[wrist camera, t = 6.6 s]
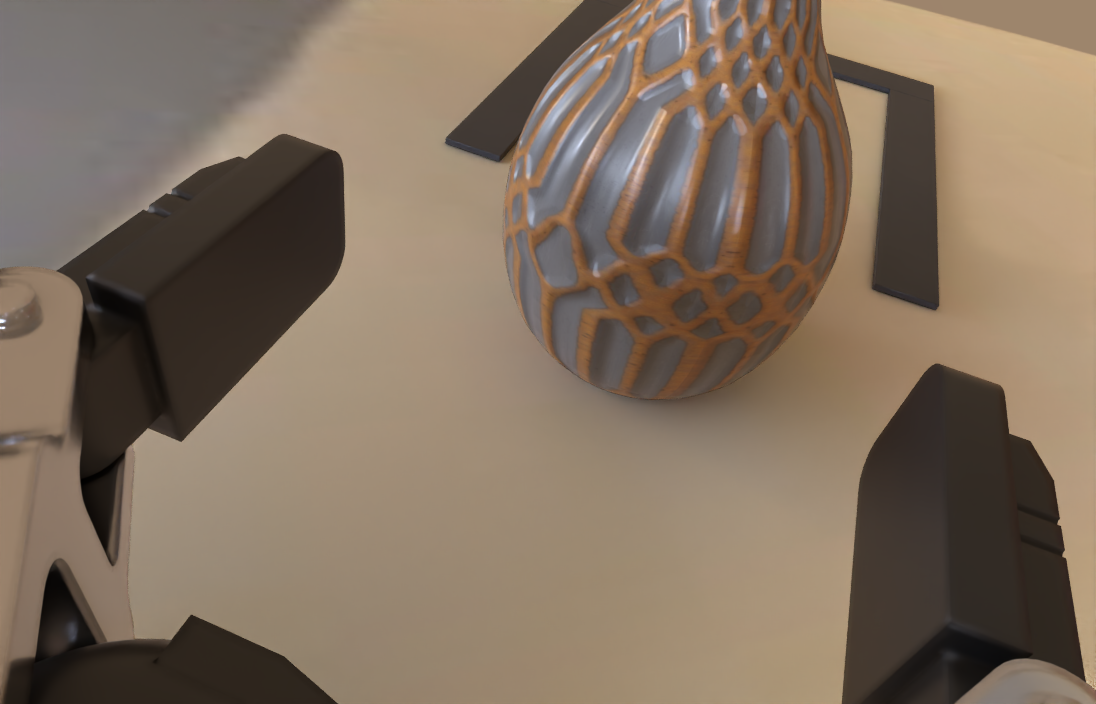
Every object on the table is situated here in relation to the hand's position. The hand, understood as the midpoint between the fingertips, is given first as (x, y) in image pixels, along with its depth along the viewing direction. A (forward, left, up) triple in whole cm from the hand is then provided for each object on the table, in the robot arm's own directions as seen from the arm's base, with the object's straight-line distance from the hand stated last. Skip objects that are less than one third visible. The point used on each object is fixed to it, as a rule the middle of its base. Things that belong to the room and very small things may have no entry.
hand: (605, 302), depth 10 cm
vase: (0, +6, -6) cm, 9 cm away
